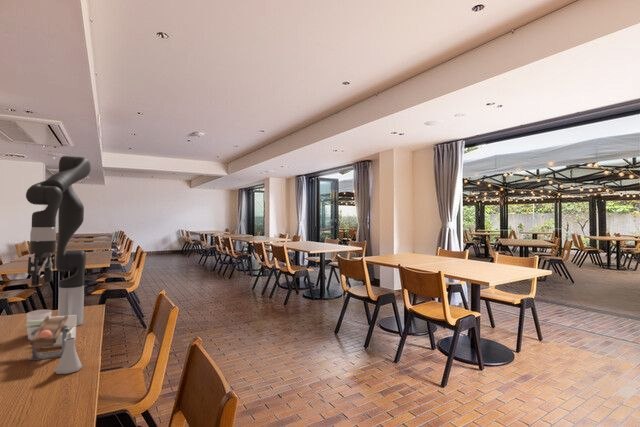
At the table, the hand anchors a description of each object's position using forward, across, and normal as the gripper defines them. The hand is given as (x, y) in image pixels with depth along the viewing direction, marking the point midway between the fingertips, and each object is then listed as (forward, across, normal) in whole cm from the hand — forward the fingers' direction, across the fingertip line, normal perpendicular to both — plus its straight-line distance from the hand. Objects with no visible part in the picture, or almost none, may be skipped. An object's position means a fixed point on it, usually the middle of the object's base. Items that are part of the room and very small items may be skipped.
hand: (41, 283), depth 129 cm
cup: (+24, -6, +4) cm, 25 cm away
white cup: (+24, -14, -7) cm, 28 cm away
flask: (+25, +21, +18) cm, 37 cm away
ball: (+15, +14, +8) cm, 22 cm away
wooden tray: (+16, +8, +4) cm, 19 cm away
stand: (+24, +7, +6) cm, 26 cm away
